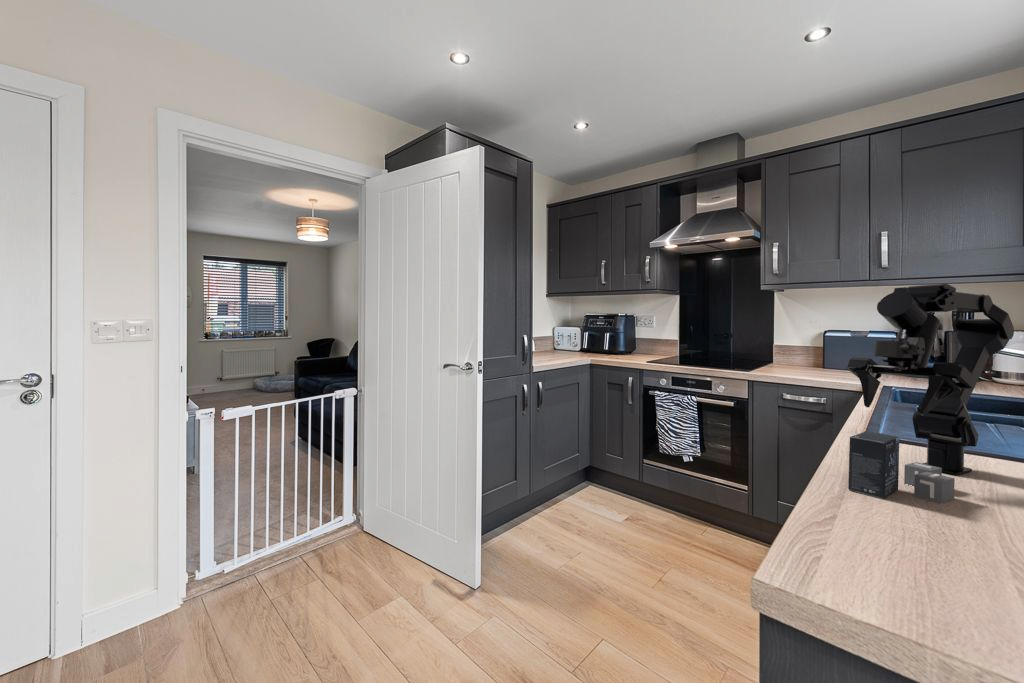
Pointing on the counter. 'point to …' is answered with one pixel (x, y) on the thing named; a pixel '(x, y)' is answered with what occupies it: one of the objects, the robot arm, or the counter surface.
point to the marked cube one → (918, 471)
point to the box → (874, 464)
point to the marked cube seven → (934, 487)
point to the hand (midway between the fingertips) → (892, 410)
